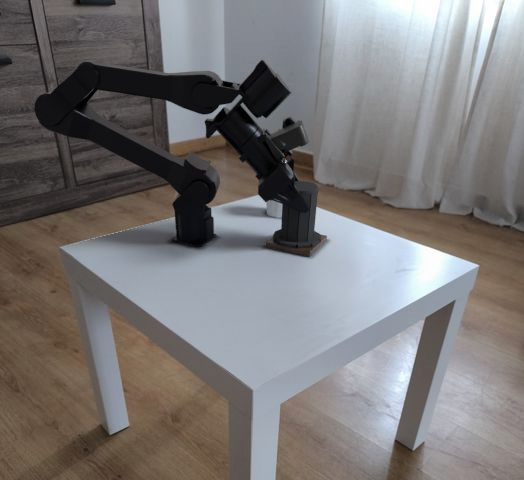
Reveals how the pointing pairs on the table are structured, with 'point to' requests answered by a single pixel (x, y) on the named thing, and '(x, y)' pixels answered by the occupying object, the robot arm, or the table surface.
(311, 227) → the hat
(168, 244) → the table surface
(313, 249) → the hat stand
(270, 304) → the table surface
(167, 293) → the table surface
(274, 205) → the white cup
